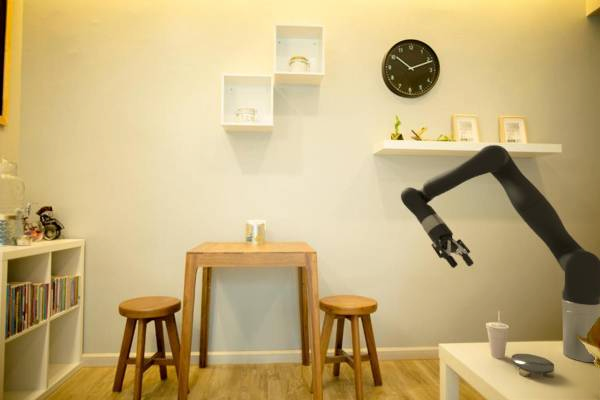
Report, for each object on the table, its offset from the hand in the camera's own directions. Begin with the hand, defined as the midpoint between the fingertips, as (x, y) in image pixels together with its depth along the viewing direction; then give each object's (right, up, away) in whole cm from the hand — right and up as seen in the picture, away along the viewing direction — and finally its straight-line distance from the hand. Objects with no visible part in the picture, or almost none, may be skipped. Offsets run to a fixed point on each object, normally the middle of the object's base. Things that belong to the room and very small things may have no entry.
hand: (463, 265), depth 120 cm
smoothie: (+6, -27, -10) cm, 29 cm away
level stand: (+10, -26, -21) cm, 35 cm away
